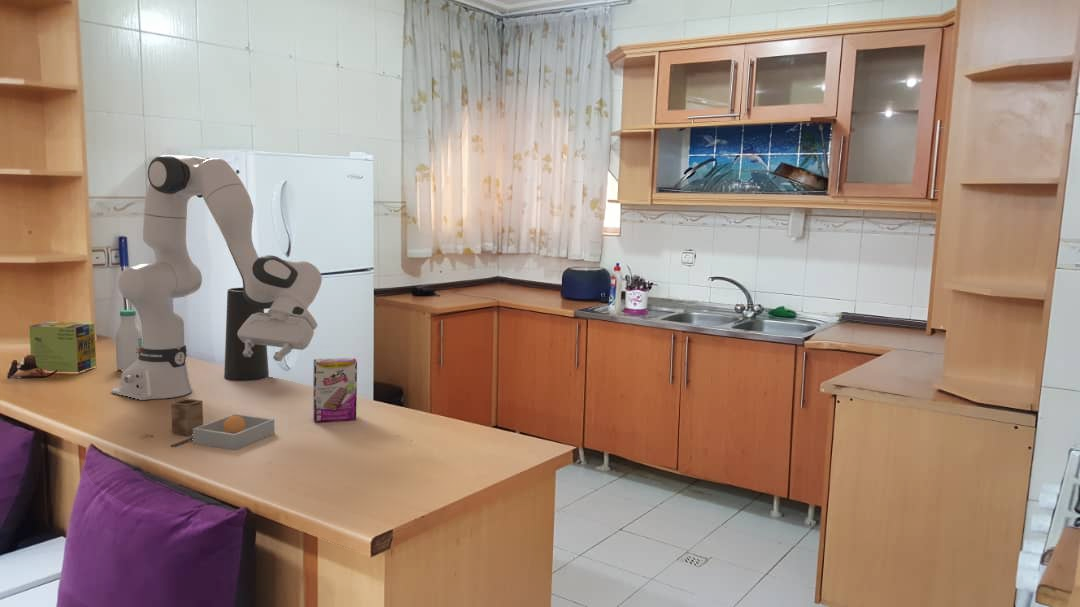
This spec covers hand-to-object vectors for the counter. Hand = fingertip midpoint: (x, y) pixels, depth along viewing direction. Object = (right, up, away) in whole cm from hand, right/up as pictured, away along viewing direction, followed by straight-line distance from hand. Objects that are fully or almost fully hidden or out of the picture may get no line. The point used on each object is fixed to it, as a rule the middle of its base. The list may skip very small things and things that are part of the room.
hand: (261, 357), depth 193 cm
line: (-12, -19, -5) cm, 23 cm away
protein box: (-86, -8, +57) cm, 103 cm away
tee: (-17, -18, -4) cm, 25 cm away
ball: (-4, -16, -8) cm, 18 cm away
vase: (-26, -10, +56) cm, 63 cm away
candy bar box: (+16, -18, +11) cm, 26 cm away
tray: (-4, -19, -7) cm, 21 cm away
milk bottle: (-66, -8, +61) cm, 90 cm away
